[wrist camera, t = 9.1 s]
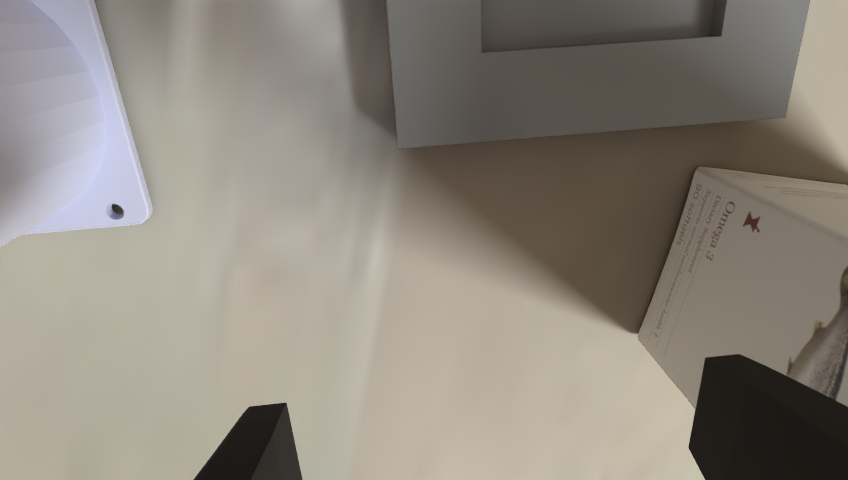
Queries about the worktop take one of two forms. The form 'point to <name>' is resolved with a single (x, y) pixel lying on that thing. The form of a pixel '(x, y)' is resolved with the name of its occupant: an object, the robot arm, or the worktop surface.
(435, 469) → the worktop surface
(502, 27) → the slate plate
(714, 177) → the supplement box
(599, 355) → the worktop surface
